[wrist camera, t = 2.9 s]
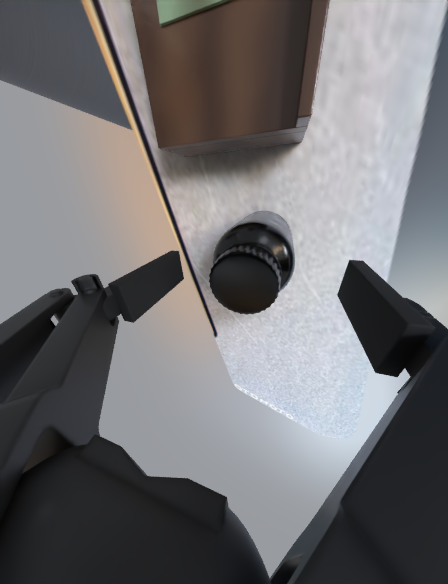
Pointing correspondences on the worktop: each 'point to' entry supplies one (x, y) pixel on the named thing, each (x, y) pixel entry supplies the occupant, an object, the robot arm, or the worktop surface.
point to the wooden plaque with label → (230, 70)
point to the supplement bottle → (253, 263)
